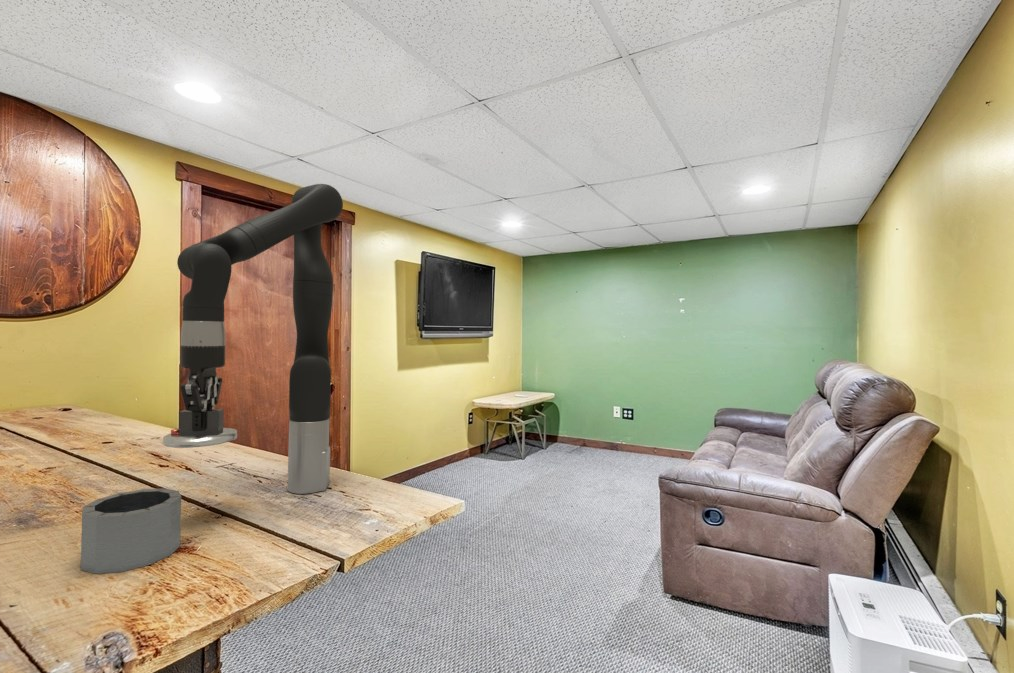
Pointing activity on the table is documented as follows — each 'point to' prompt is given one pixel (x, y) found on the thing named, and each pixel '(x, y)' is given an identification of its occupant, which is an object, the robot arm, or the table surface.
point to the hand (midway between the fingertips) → (202, 428)
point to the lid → (208, 437)
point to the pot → (130, 530)
